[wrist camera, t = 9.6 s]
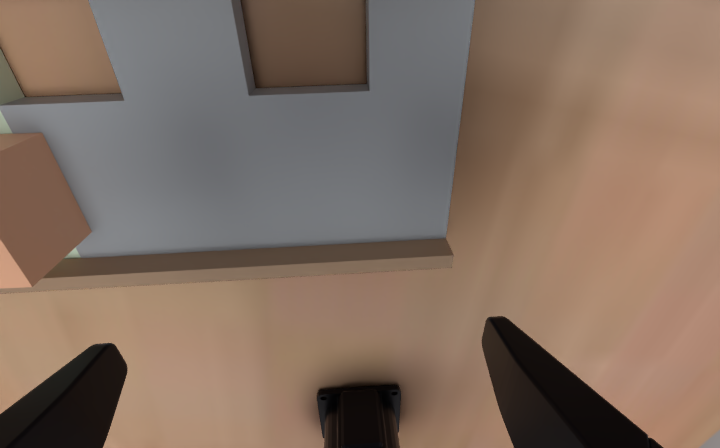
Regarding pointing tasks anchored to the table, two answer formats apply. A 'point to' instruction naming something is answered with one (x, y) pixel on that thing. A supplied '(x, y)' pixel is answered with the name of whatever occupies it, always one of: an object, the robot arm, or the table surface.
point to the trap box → (253, 150)
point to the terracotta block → (34, 211)
